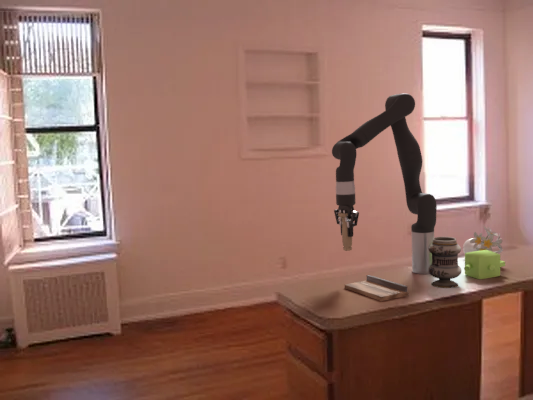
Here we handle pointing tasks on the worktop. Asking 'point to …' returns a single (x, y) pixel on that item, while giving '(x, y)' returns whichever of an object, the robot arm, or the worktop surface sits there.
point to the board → (378, 288)
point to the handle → (345, 233)
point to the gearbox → (483, 264)
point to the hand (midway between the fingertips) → (347, 235)
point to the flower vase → (482, 242)
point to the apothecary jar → (444, 261)
